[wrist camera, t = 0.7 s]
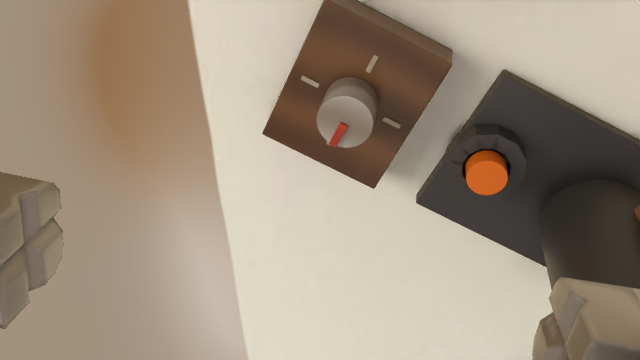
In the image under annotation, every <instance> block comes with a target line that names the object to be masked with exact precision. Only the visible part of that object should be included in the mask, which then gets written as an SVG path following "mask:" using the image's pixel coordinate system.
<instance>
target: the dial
mask: <svg viewBox="0 0 640 360" xmlns="http://www.w3.org/2000/svg"><path fill="white" fill-rule="evenodd" d="M377 108H378V98H377V95H376V92H375V90H374V89H373V88H372V86H371V85H370V84H368V83H367V82H366V81H364V80H362V79H359V78H356V77H345V78H341V79H338V80H336V81H335V82H333V83H332V84H331V85H330V87H329V88H328V90H327V92H326V94H325V96H324V99H323V101H322V104H321V106H320V108H319V111H318V114H317V126H318V129H319V131H320V133H321V135H322V136H323V137H324V138H325V139H326V140H327V141H328V142H329V145H331V146H333V147H335V148H336V146H339V147H344V148H349V147H355V146H358V145H360V144H362V143H363V142H365V141H366V140H367V139H368V138H369V136H370V135H371V133H372V130H373V126H374V121H375V117H376V113H377Z"/></svg>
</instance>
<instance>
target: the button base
mask: <svg viewBox="0 0 640 360" xmlns="http://www.w3.org/2000/svg"><path fill="white" fill-rule="evenodd" d="M482 150H491V151H495V152H497V153H499V154H500V155H501V156H502V157H503V158H504V160H505V162H506V167H507V173H508V181H507V184H506V186H505V187H504V188H503V189H502V190H501V191H499V192H498V193H496V194H492V195H480V194H477V193H475V192H474V191H472V190H471V189H470V188H469V186H468V184H467V181H466V163H467V161H468V159H469V158H470V157H471V156H472V155H473V154H474V153H476V152H478V151H482ZM589 180H610V181H616V182H619V183H622V184H625V185H627V186H629V187H631V188H632V189H634V190H635V191H637V192H638V193H639V194H640V140H638V139H636V138H634V137H632V136H630V135H629V134H627V133H625V132H623V131H621V130H619V129H617V128H615V127H613V126H611V125H609V124H607V123H606V122H604V121H602V120H600V119H598V118H596V117H594V116H592V115H590V114H588V113H586V112H584V111H583V110H581V109H579V108H577V107H575V106H573V105H571V104H569V103H567V102H565V101H563V100H561V99H559V98H558V97H556V96H554V95H552V94H550V93H548V92H546V91H544V90H542V89H540V88H538V87H536V86H535V85H533V84H531V83H529V82H527V81H525V80H523V79H521V78H519V77H517V76H515V75H513V74H512V73H510V72H508V71H506V70H503V71H502V72H501V74H500V75H499V77H498V78H497V79H496V81H495V82H494V84H493V85H492V87H491V88H490V90H489V91H488V93H487V94H486V95H485V97H484V98H483V100H482V101H481V103H480V104H479V106H478V107H477V108H476V110H475V111H474V113H473V114H472V116H471V117H470V119H469V120H468V122H467V123H466V124H465V126H464V127H463V129H462V130H461V132H460V133H458V134H457V135H456V136H455V138H454V139H453V141H452V142H451V144H450V145H449V146H448V148H447V152H446V153H445V155H444V156H443V158H442V159H441V161H440V162H439V164H438V165H437V166H436V168H435V169H434V171H433V172H432V174H431V175H430V177H429V178H428V179H427V181H426V182H425V184H424V185H423V187H422V188H421V190H420V191H419V193H418V194H417V197H416V203H417V204H419V205H422V206H424V207H426V208H428V209H430V210H432V211H434V212H436V213H438V214H440V215H442V216H444V217H446V218H448V219H450V220H452V221H454V222H456V223H458V224H460V225H462V226H464V227H466V228H468V229H470V230H472V231H474V232H476V233H478V234H480V235H482V236H484V237H486V238H489V239H491V240H493V241H495V242H497V243H499V244H501V245H503V246H505V247H507V248H509V249H511V250H513V251H515V252H517V253H519V254H521V255H523V256H525V257H527V258H529V259H531V260H533V261H535V262H537V263H539V264H541V265H543V266H545V267H547V266H546V261H545V257H544V252H543V248H542V243H541V238H540V234H539V219H540V216H541V213H542V211H543V209H544V207H545V206H546V204H547V203H548V202H549V200H550V199H551V198H552V197H553V196H555V195H556V194H557V193H558V192H560V191H562V190H563V189H565V188H567V187H569V186H571V185H574V184H576V183H580V182H584V181H589Z"/></svg>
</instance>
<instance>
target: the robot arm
mask: <svg viewBox="0 0 640 360" xmlns="http://www.w3.org/2000/svg"><path fill="white" fill-rule="evenodd" d="M60 209H61V199H60V190H59V189H58V188H57V187H56V185H55V184H54V183H51V182H46V181H42V180H36V179H31V178H27V177H22V176H17V175H11V174H7V173H2V172H0V328H3V329H6V328H7V326H8V325H9V324H10V323H11V322H12V321H13V320H14V319H15V318H16V316H18V314H19V313H20V312H21V311H22V310H23V309H24V308H25V307H26V306H27V305H28V303H29V302H30V298H29V291H31V290H34V289H36V288H39V287H41V286H44V285H46V283H47V282H48V281H49V280H50V279H51V278H52V276H53V275H54V274H55V272H56V270H57V268H58V265H59V263H60V261H61V258H62V252H63V246H64V241H63V240H64V239H63V230H62V229H61V228H60V226H59V225H58V223H57V222H56V221H55V219H54V218H53V217H54V216H55V215H56V214H57V213H58V211H59V210H60ZM549 300H550V303H551V306H552V309H553V313H551V314H550V315H548V316H547V317H545V318H544V319H542V320H541V321H540V323H539V326H538V329H537V332H536V335H535V338H534V346H533V354H532V355H533V360H640V289H636V288H629V287H623V286H616V285H610V284H604V283H597V282H591V281H585V280H578V279H572V278H565V277H559V279H558V280H557V282H556V283H555V284H554V286H553V289H552V292H551V294H550V297H549Z"/></svg>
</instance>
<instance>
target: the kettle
mask: <svg viewBox="0 0 640 360" xmlns="http://www.w3.org/2000/svg"><path fill="white" fill-rule="evenodd" d="M539 234H540V238H541V243H542V248H543V252H544V257H545V261H546V266H547V271H548V275H549V280H550V284H551V289H553V286H554V284H555V283H556V282H557V280H558V279H559V277H565V278H572V279H578V280H585V281H591V282H597V283H604V284H610V285H616V286H623V287H629V288H636V289H640V194H639V193H638V192H637V191H635V190H634V189H632V188H631V187H629V186H627V185H625V184H622V183H619V182H616V181H610V180H589V181H584V182H580V183H576V184H574V185H571V186H569V187H567V188H565V189H563V190H562V191H560V192H558V193H557V194H556V195H555V196H553V197H552V198H551V199H550V200H549V202H548V203H547V204H546V206H545V207H544V209H543V211H542V213H541V216H540V219H539Z"/></svg>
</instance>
